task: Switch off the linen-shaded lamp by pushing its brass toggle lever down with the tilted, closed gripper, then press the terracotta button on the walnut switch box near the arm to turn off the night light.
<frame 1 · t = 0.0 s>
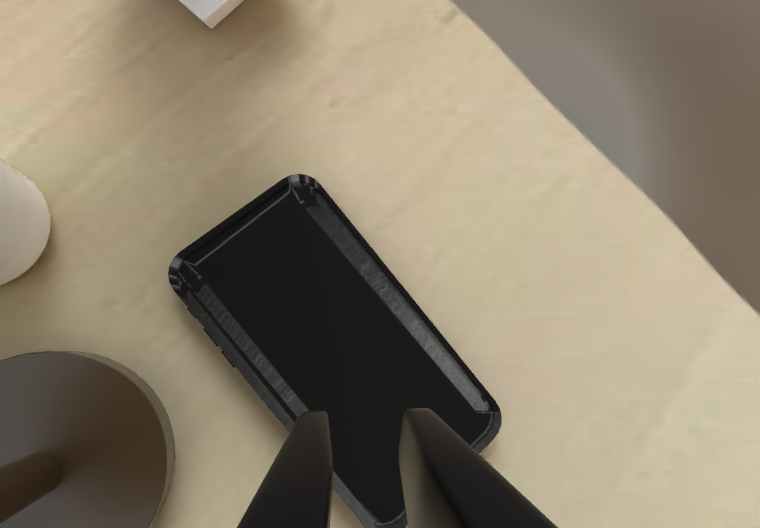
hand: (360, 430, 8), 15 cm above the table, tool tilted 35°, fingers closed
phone: (337, 348, 24), on the table
lamp: (56, 464, 21), on the table
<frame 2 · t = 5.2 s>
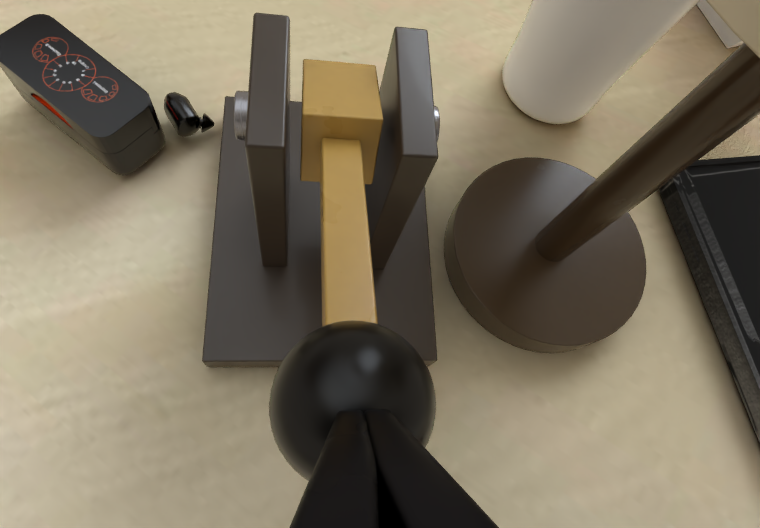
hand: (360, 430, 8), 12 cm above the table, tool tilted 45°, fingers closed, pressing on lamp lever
drinking glass: (543, 90, 28), on the table
lamp switch: (323, 231, 23), on the table
lamp: (536, 258, 24), on the table
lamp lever: (344, 235, 13), point 9 cm above the table, hinge at 18.2°, touching gripper
wireless earbuds: (124, 126, 24), on the table
figurine: (731, 18, 33), on the table
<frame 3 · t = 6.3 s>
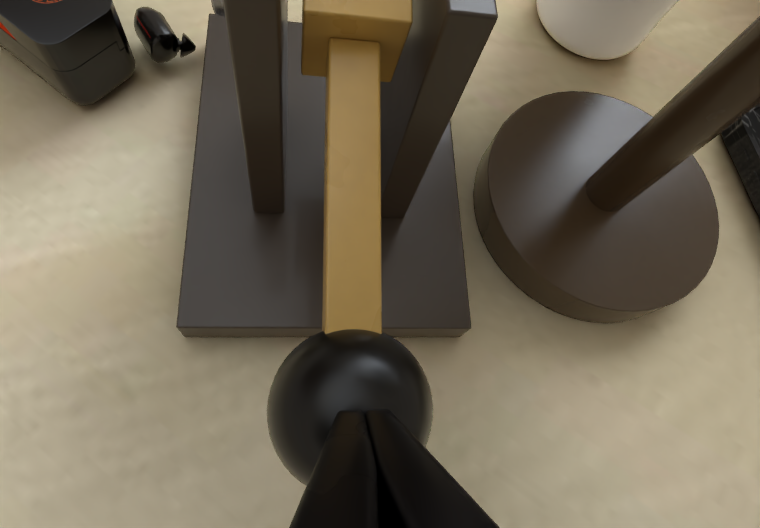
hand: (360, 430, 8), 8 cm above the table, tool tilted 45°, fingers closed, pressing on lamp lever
drinking glass: (582, 24, 24), on the table
lamp switch: (327, 176, 19), on the table
lamp: (583, 211, 20), on the table
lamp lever: (351, 191, 11), point 7 cm above the table, hinge at -11.2°, touching gripper
wireless earbuds: (87, 50, 19), on the table
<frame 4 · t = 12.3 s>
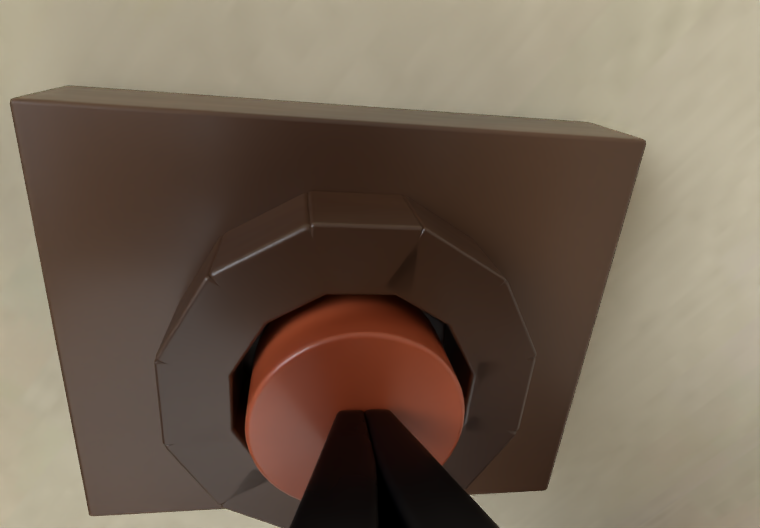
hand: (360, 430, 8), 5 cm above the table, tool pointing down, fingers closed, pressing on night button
switch box: (338, 295, 13), on the table
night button: (353, 395, 9), point 4 cm above the table, slide at -0.5 cm, touching gripper
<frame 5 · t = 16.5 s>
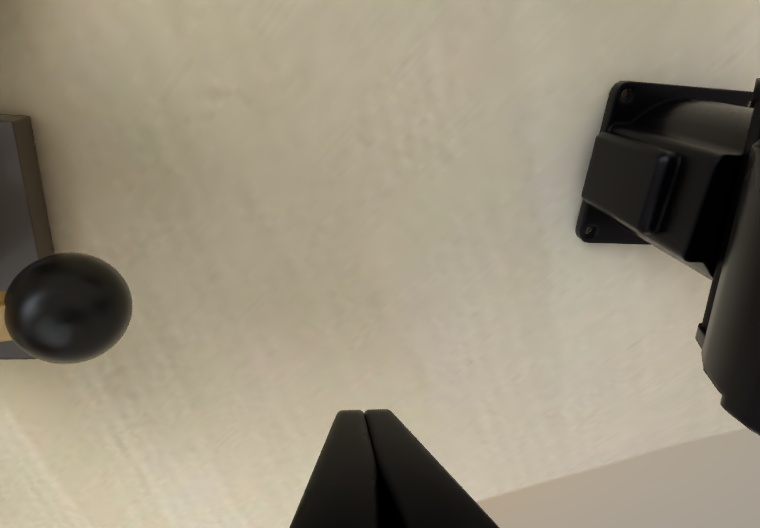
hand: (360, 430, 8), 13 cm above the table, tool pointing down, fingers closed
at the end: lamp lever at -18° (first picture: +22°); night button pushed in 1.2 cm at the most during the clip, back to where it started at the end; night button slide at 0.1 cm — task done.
